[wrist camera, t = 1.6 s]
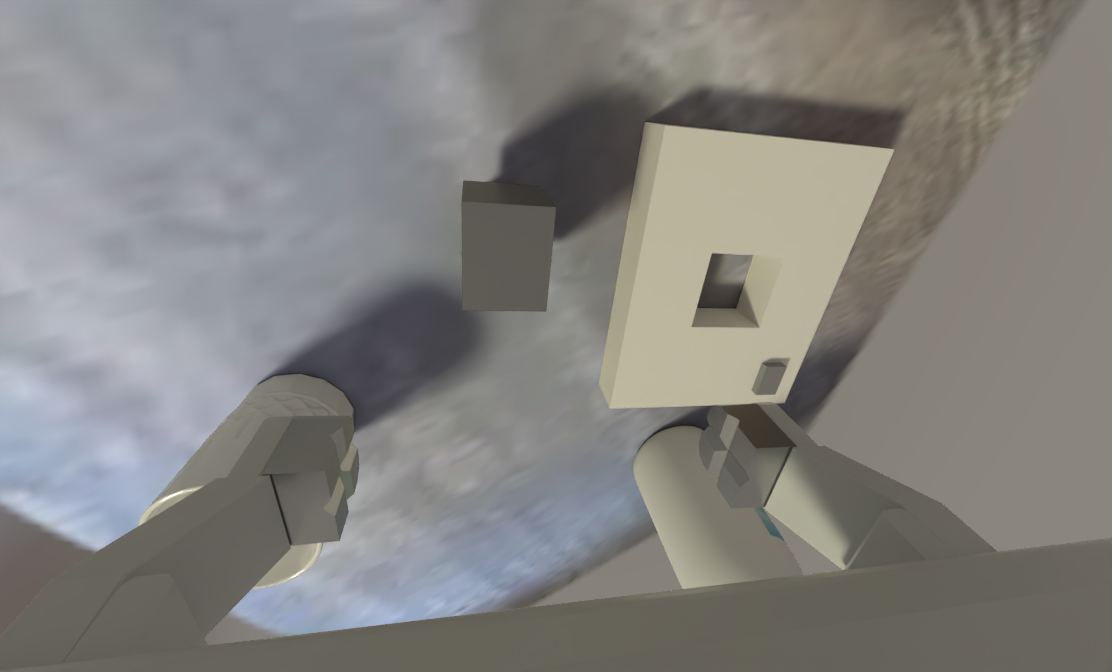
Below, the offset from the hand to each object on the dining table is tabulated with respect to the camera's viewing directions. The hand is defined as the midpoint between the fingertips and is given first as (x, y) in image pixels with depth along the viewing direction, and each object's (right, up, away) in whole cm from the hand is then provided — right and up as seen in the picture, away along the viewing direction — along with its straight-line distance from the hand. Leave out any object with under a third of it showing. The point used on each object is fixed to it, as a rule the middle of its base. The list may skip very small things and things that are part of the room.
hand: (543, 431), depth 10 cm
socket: (+11, +6, +20) cm, 24 cm away
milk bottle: (+11, -8, +29) cm, 32 cm away
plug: (-3, +9, +16) cm, 19 cm away
